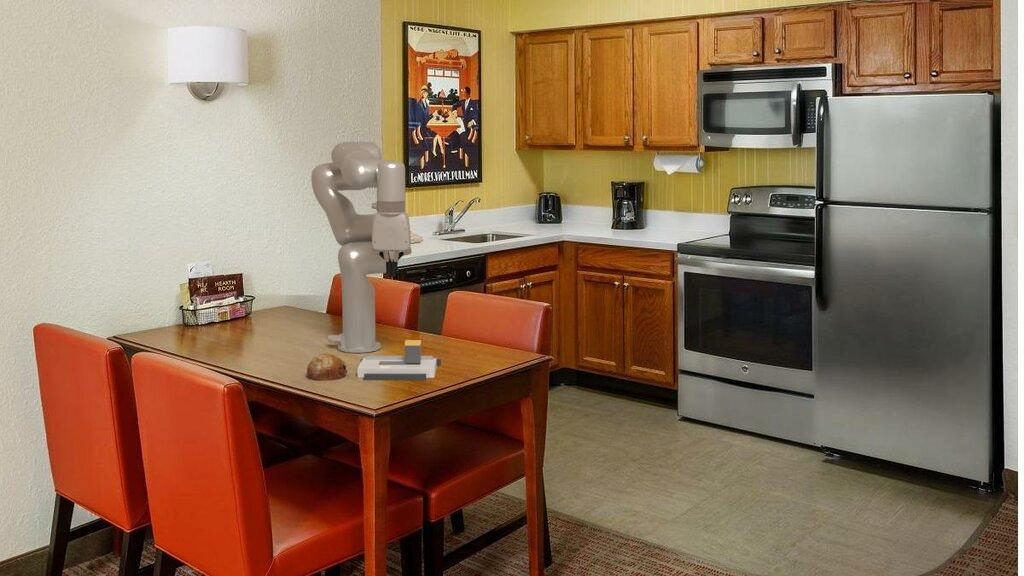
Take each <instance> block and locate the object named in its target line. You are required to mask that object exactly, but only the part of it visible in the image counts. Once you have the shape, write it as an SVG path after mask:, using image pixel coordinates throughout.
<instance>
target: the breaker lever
mask: <svg viewBox="0 0 1024 576" xmlns="http://www.w3.org/2000/svg"><path fill="white" fill-rule="evenodd" d="M404 348H405V349H404V356H405V363H420V362H421V356H422V340H421V339H405V342H404Z"/></svg>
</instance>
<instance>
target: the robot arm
mask: <svg viewBox="0 0 1024 576" xmlns="http://www.w3.org/2000/svg"><path fill="white" fill-rule="evenodd" d="M330 153H331V154H330V155H331V156H330V157H331V161H332V162H326V163H321V164H318V165H316V166H315V167H314V168H313V170H312V172H311V178H310V179H311V187H312V191H313V194H314V197H315V199H316V201H317V202H318V204H319V205H320V207H321V209H323V211H324V213H325V215H326V217H327V219H328V222H329V226H330V228H331V232H332V234H333V236H334V238H335V241H336V242H337V244H338V245H339V246H341V247H340V248H339V249H338V253H337V259H338V260H337V261H338V267H339V272H340V278H341V279H340V280H341V297H342V298H341V299H342V300H341V303H342V305H341V306H342V307H341V308H342V309H341V310H342V332H341V333H338V335H337V334H328V336H327V341H328V342H330V343H338V344H337V350H339V351H340V352H344V353H353V354H357V353H358V354H360V353H362V354H363V353H370V352H375V351H379V350H380V349H382V344H381V343H380V342H378V341H376V297H375V296H376V291H375V287H374V284H372V282H371V281H370V280H369V278H368V277H367V275H375V274H376V275H377V274H387V275H388V278H390V277H394V278H395V277H396V274H398V273H399V272H398V271H399V269H398V268H399V267H398V265H399V260H401V258H402V257H404V256H409V255H411V254H412V253H413V251H412V246H411V243H412V241H411V240H412V239H411V237H412V235H411V224H410V218H409V213H408V212H406V166H405V163H404V162H401V161H395V160H393V159H382V158H383V157H382V152H381V148H380V147H379V145H377V144H376V143H374V142H372V141H343V142H339V143H337V144H336V145H335V146H333V148H332V150H331V152H330ZM369 188H370V189H372V188H375V189H376V202H374V203H371V209H373V210H376V212H374V213H373V214H359V213H357V211H356V209H355V207H354V205H353V203H352V202H351V200H350V199H349V198H348V197H347V196H345V195H343V194H342V193H341V192H340V191H362V190H366V189H369Z"/></svg>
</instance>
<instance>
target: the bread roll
mask: <svg viewBox="0 0 1024 576" xmlns="http://www.w3.org/2000/svg"><path fill="white" fill-rule="evenodd" d="M347 373H348V369H347V365H346V363H345V360H343V359H341V358H340V357H339V356H336V355H334V354H331V353H327V352H325V353H324V352H323V353H319V354H317V355H315V356H314V357H313V358H312V359H311V360H310V361H309V362H308V365H307V368H306V376H307V378H308V379H309V380H311V381H317V382H324V381H326V382H327V381H336V380H340V379H342V378H344V377H345V376H346V374H347Z"/></svg>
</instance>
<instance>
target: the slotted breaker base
mask: <svg viewBox="0 0 1024 576" xmlns="http://www.w3.org/2000/svg"><path fill="white" fill-rule="evenodd" d="M362 359H363V360H362V361H361V360H360V362H359V365H358V367H357V378H364V374H365V373H369V374H426V379H429V378H433V379H434V378H435V376H436V372H437V367H438V365H437V359H438V358H437V357H434V356H433V355H421V362H420V363H405V355H366V356H365V357H363V358H362Z"/></svg>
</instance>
